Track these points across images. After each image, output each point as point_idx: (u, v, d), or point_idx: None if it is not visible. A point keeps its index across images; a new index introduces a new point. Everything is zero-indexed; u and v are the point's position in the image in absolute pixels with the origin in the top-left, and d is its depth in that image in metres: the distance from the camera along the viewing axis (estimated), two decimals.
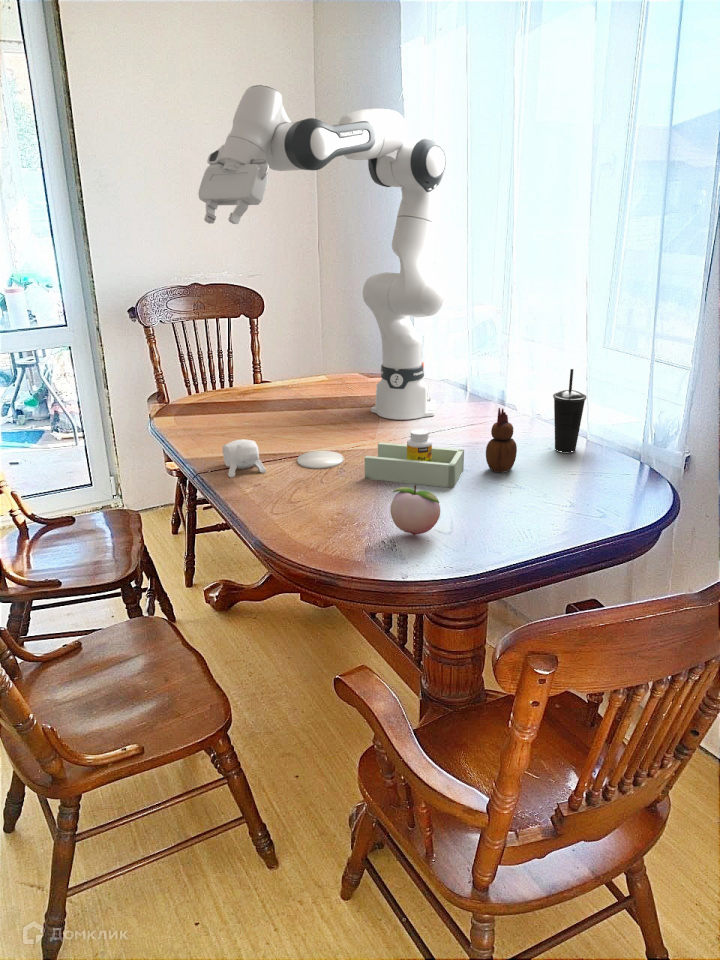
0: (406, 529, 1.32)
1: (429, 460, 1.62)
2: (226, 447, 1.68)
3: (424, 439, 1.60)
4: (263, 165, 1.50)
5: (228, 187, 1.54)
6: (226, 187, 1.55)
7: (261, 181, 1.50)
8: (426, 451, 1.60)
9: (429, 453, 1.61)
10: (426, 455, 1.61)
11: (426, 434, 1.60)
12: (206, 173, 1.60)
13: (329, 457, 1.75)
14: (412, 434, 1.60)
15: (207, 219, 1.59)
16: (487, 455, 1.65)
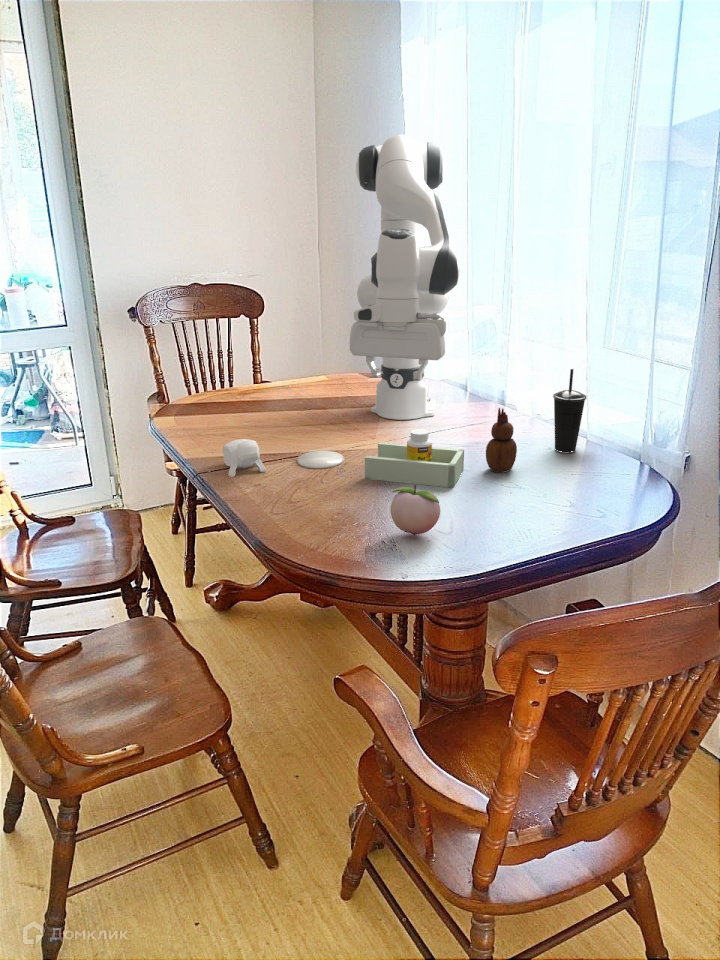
0: (406, 529, 1.32)
1: (429, 460, 1.62)
2: (226, 447, 1.68)
3: (424, 439, 1.60)
4: (439, 322, 1.48)
5: (401, 347, 1.51)
6: (397, 347, 1.51)
7: (442, 338, 1.49)
8: (426, 451, 1.60)
9: (429, 453, 1.61)
10: (426, 455, 1.61)
11: (426, 434, 1.60)
12: (356, 330, 1.53)
13: (329, 457, 1.75)
14: (412, 434, 1.60)
15: (376, 376, 1.56)
16: (487, 455, 1.65)
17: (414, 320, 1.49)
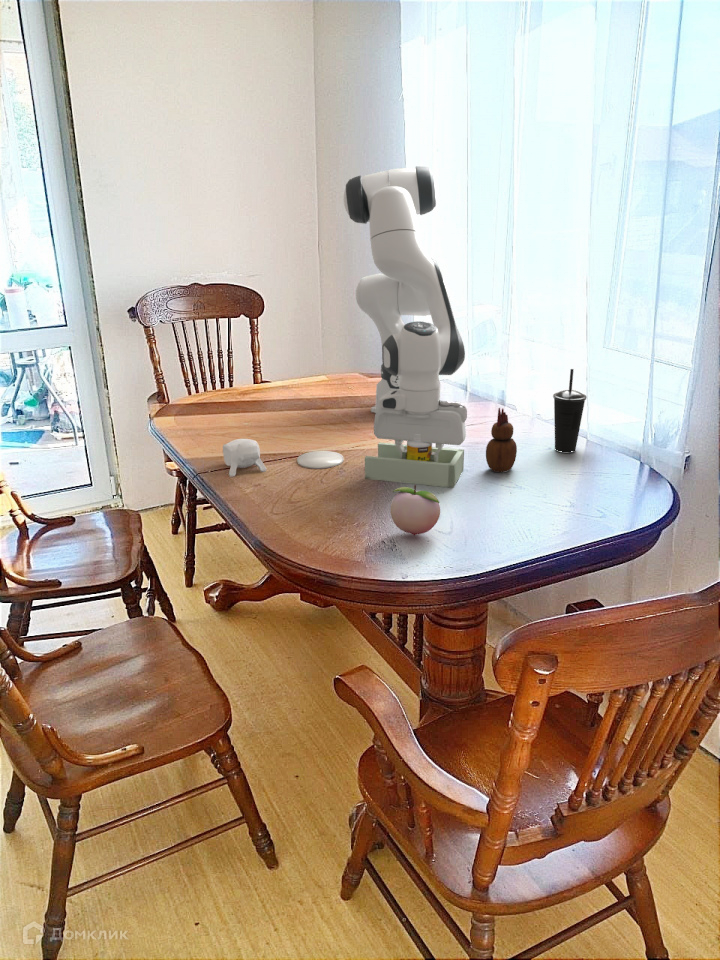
0: (406, 529, 1.32)
1: (429, 460, 1.62)
2: (226, 446, 1.68)
3: None
4: (461, 410, 1.56)
5: (424, 432, 1.59)
6: (420, 433, 1.59)
7: (463, 424, 1.57)
8: (426, 451, 1.60)
9: (429, 453, 1.61)
10: (426, 455, 1.61)
11: None
12: (380, 416, 1.60)
13: (329, 457, 1.75)
14: None
15: (405, 458, 1.64)
16: (487, 455, 1.65)
17: (437, 408, 1.57)
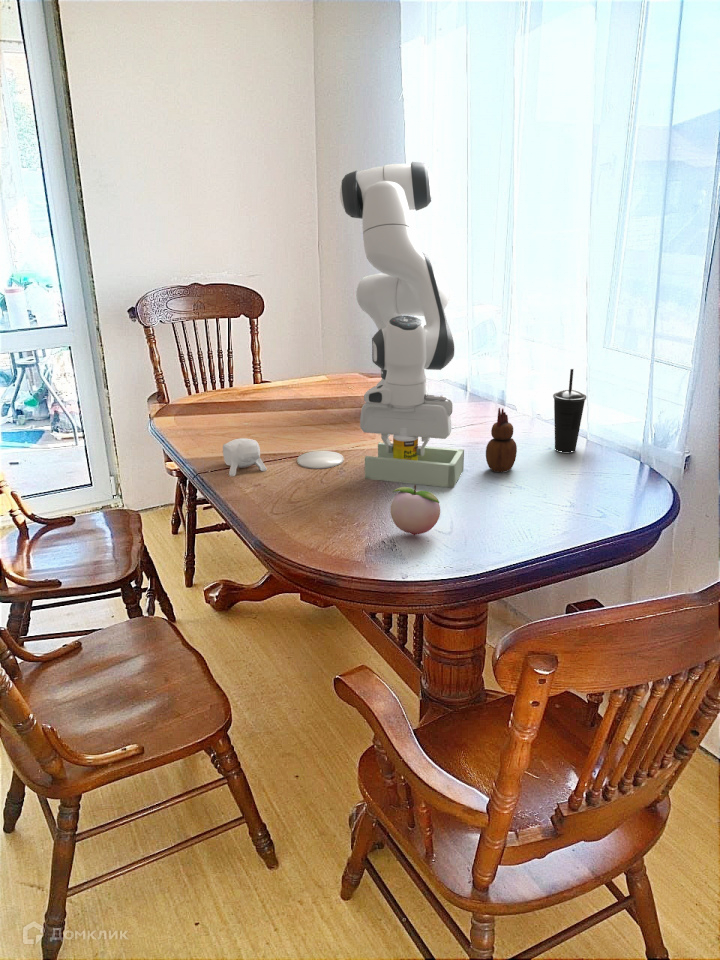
0: (406, 529, 1.32)
1: (415, 454, 1.63)
2: (226, 446, 1.68)
3: None
4: (446, 404, 1.57)
5: (410, 426, 1.60)
6: (406, 427, 1.60)
7: (449, 418, 1.58)
8: (412, 444, 1.61)
9: (415, 447, 1.62)
10: (412, 449, 1.61)
11: None
12: (366, 410, 1.61)
13: (329, 457, 1.75)
14: None
15: (391, 452, 1.64)
16: (487, 455, 1.65)
17: (422, 402, 1.57)
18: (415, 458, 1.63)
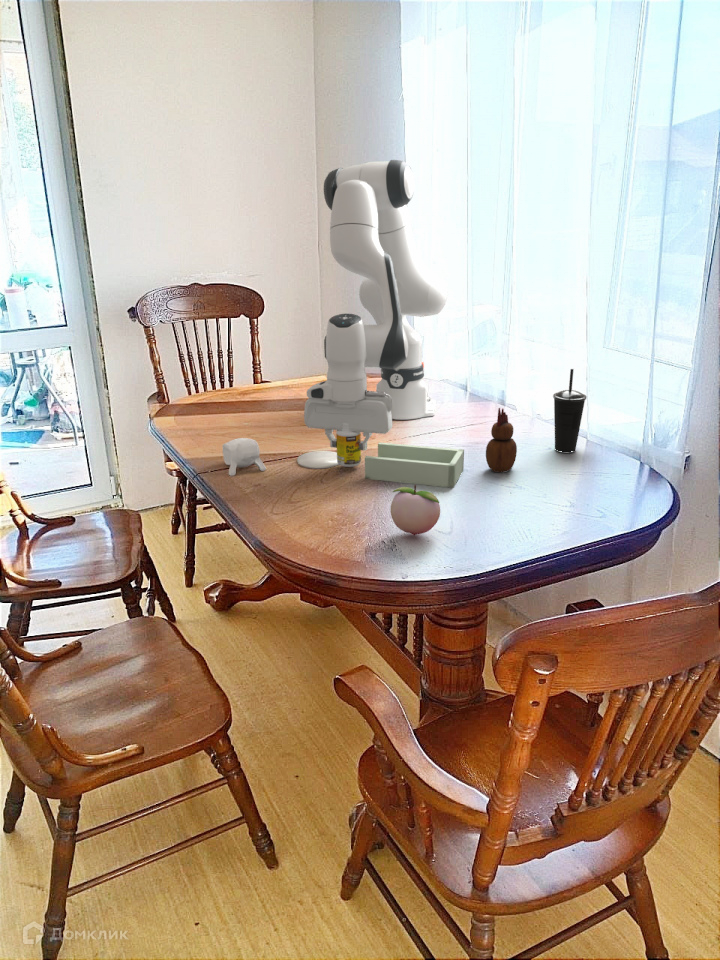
0: (406, 529, 1.32)
1: (358, 449, 1.67)
2: (226, 446, 1.69)
3: None
4: (386, 399, 1.61)
5: (351, 421, 1.64)
6: (348, 422, 1.64)
7: (389, 413, 1.62)
8: (354, 440, 1.65)
9: (357, 442, 1.66)
10: (354, 444, 1.65)
11: None
12: (309, 406, 1.65)
13: (329, 457, 1.75)
14: None
15: (335, 447, 1.68)
16: (487, 455, 1.65)
17: (363, 398, 1.61)
18: (358, 453, 1.67)
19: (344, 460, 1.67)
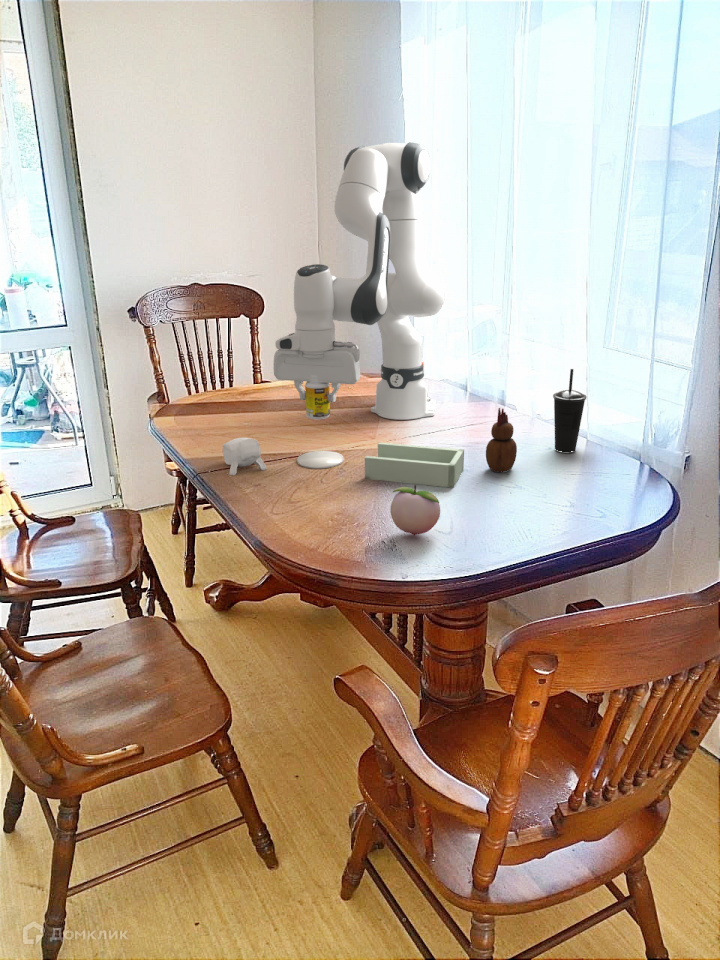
0: (406, 529, 1.32)
1: (326, 401, 1.68)
2: (227, 445, 1.69)
3: None
4: (354, 350, 1.62)
5: (320, 372, 1.65)
6: (316, 373, 1.65)
7: (357, 364, 1.64)
8: (323, 392, 1.66)
9: (326, 394, 1.67)
10: (322, 397, 1.67)
11: None
12: (278, 357, 1.67)
13: (329, 457, 1.75)
14: None
15: (304, 399, 1.70)
16: (487, 455, 1.65)
17: (331, 348, 1.63)
18: (326, 406, 1.68)
19: (312, 412, 1.68)
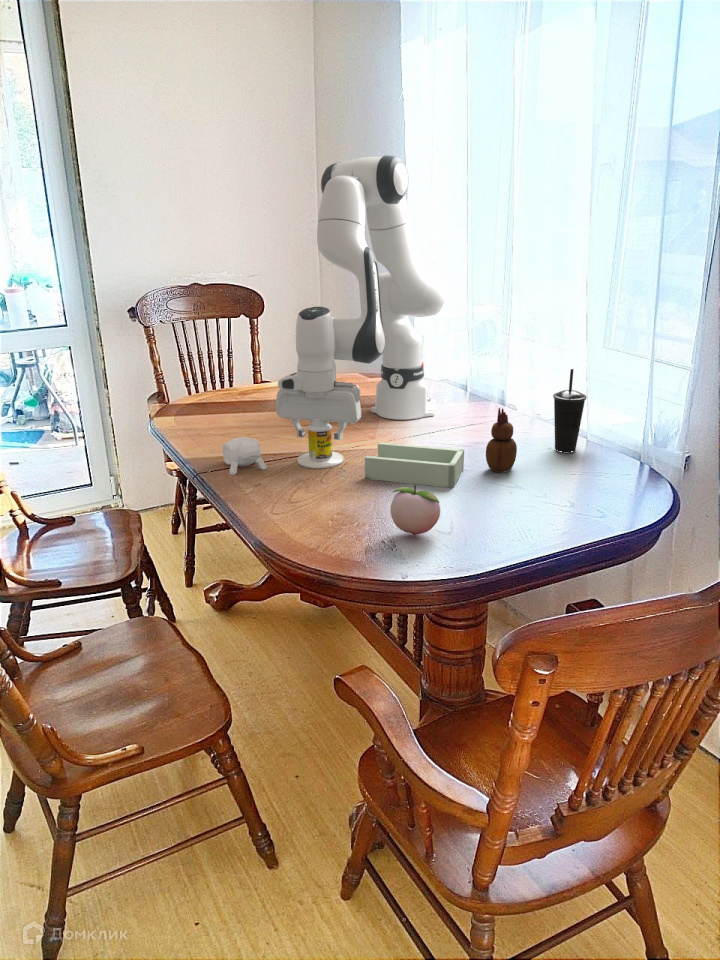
0: (406, 529, 1.32)
1: (328, 444, 1.72)
2: (226, 445, 1.69)
3: (323, 423, 1.70)
4: (354, 390, 1.65)
5: (321, 412, 1.68)
6: (318, 412, 1.69)
7: (357, 403, 1.67)
8: (325, 435, 1.70)
9: (328, 437, 1.71)
10: (325, 439, 1.71)
11: None
12: (280, 396, 1.70)
13: None
14: None
15: (301, 436, 1.74)
16: (487, 455, 1.65)
17: (332, 388, 1.66)
18: (328, 448, 1.72)
19: (315, 454, 1.72)
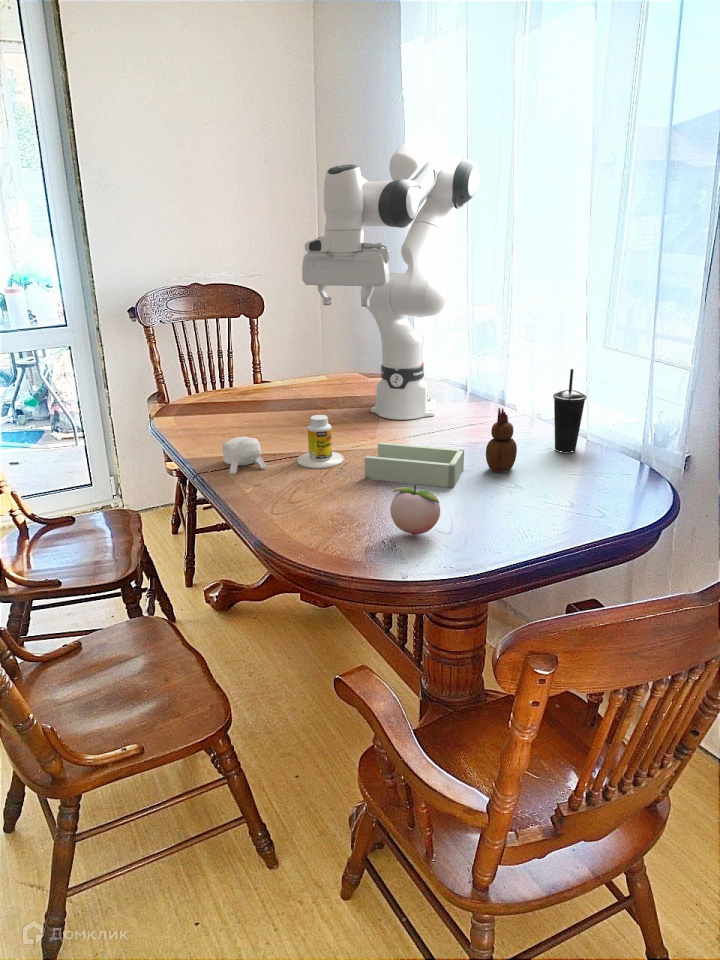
0: (406, 529, 1.32)
1: (328, 444, 1.72)
2: (226, 445, 1.69)
3: (322, 424, 1.70)
4: (383, 251, 1.62)
5: (349, 275, 1.65)
6: (345, 276, 1.66)
7: (386, 265, 1.64)
8: (325, 435, 1.70)
9: (328, 437, 1.71)
10: (325, 439, 1.71)
11: (324, 419, 1.70)
12: (307, 261, 1.67)
13: None
14: (311, 419, 1.70)
15: (327, 304, 1.70)
16: (487, 455, 1.65)
17: (360, 250, 1.63)
18: (328, 448, 1.72)
19: (315, 455, 1.72)
